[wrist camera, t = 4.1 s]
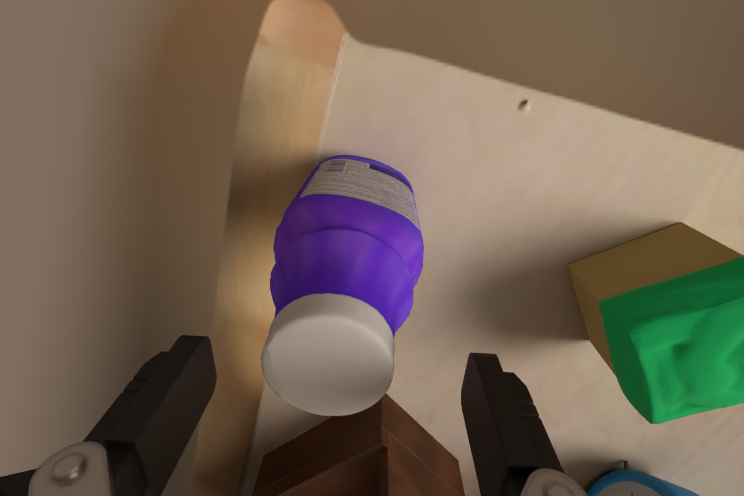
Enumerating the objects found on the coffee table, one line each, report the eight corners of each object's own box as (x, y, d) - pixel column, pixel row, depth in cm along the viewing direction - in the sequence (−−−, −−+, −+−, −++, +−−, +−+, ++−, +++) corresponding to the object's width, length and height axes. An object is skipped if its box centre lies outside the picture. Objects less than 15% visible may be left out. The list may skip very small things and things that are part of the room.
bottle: (302, 216, 28) (202, 413, 12) (318, 140, 25) (216, 266, 10) (397, 240, 29) (416, 456, 13) (421, 168, 26) (480, 328, 10)
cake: (716, 306, 31) (856, 409, 22) (582, 349, 33) (658, 458, 24) (705, 203, 27) (869, 275, 18) (554, 260, 29) (632, 349, 20)
